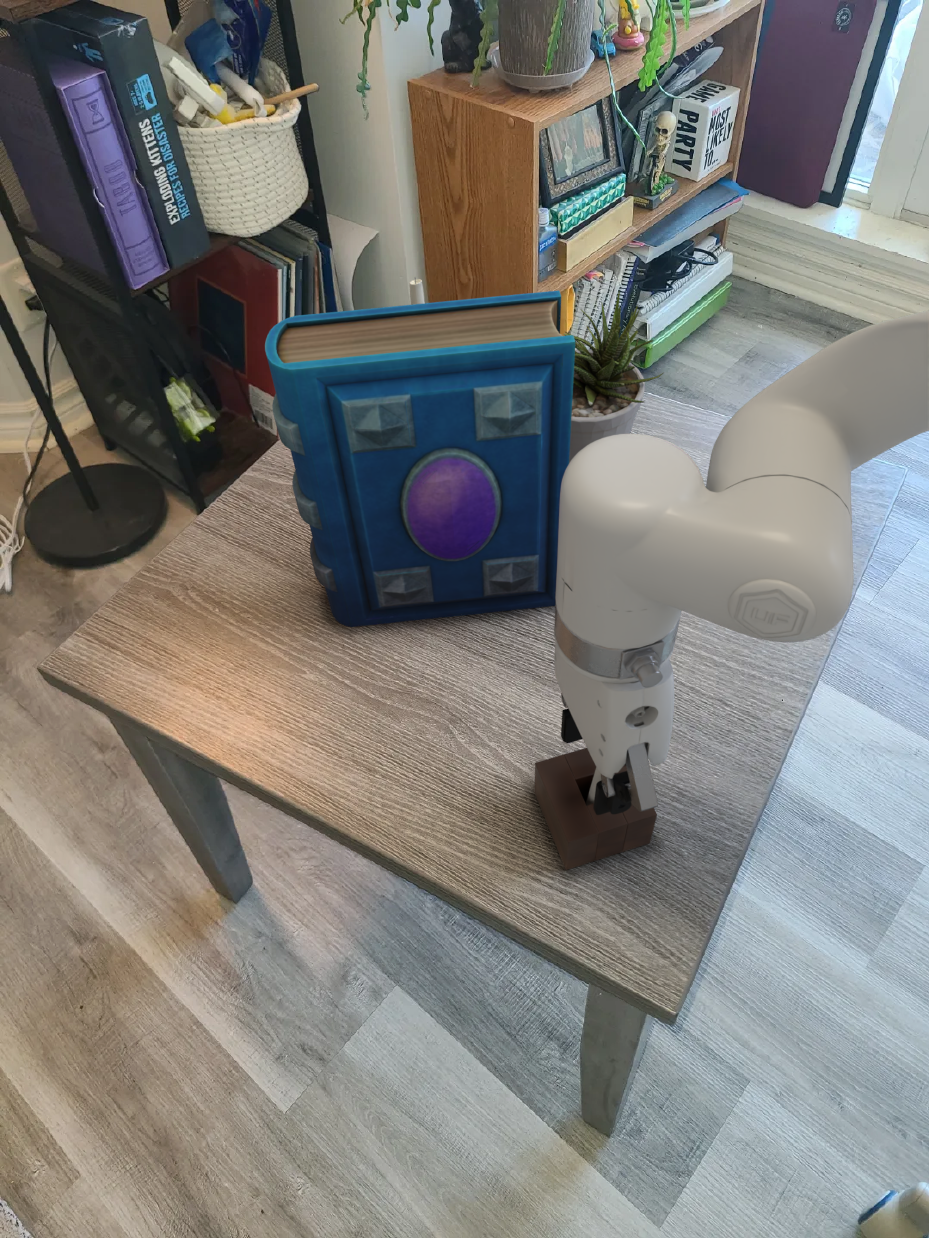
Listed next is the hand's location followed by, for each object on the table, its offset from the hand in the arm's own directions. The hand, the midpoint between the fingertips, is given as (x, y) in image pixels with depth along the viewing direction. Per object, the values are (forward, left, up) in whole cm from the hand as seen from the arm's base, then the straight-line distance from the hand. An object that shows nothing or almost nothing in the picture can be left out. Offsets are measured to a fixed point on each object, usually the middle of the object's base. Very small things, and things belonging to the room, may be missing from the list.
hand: (597, 768), depth 69 cm
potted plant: (-16, -41, -8) cm, 45 cm away
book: (+5, -28, -8) cm, 30 cm away
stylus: (0, 0, -8) cm, 8 cm away
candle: (-3, -62, -8) cm, 63 cm away
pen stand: (0, 0, -8) cm, 8 cm away
